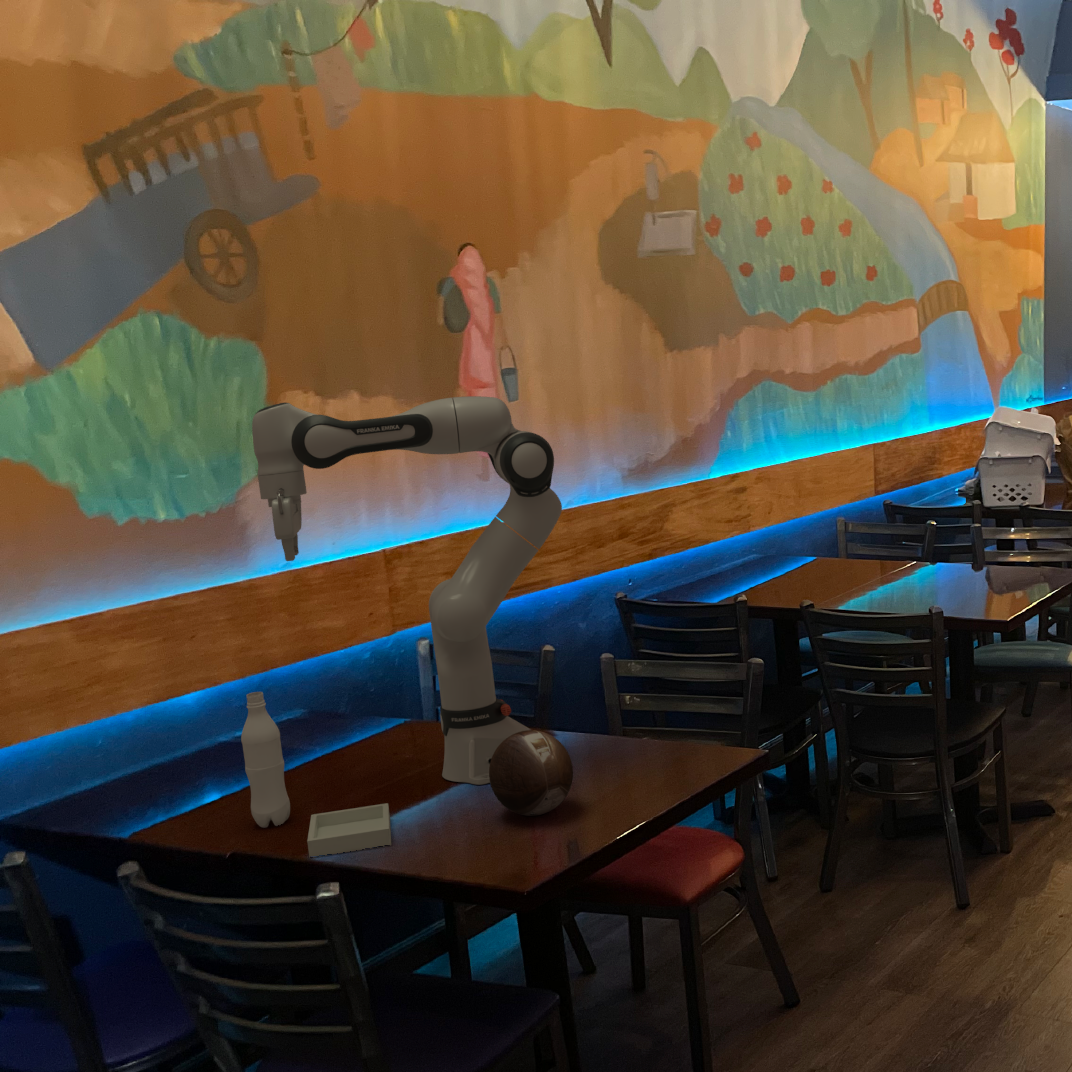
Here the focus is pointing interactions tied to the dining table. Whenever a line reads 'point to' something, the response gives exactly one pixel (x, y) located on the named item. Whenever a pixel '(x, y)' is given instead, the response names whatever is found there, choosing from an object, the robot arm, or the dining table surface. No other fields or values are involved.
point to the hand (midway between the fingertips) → (292, 558)
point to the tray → (349, 830)
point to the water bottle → (264, 764)
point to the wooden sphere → (531, 772)
